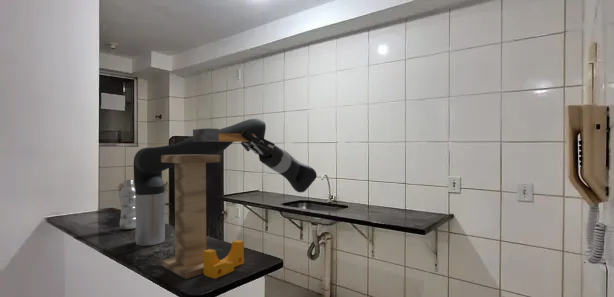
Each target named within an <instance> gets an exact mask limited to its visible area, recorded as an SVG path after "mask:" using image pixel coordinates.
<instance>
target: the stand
mask: <svg viewBox="0 0 614 297" xmlns="http://www.w3.org/2000/svg"><path fill="white" fill-rule="evenodd" d="M161 162H165V163H175V166H174V248H175V250H174V251H175V252H174V253H175V255H174V257H169V258H166V259H161V266H162V268H163V267H164V268H165V269H167V270H169V271H171V272H172V273H175V274H176V275H178V276H179V277H181V278H184V279H186V280H187V279H190V278H194V277H198V276H201V275H202V274H203V275H204V251H205V250H207V165H206V164H209V163H211V164H212V163H221V155H220V154H216V155H196V154H193V155H161Z"/></svg>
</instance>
